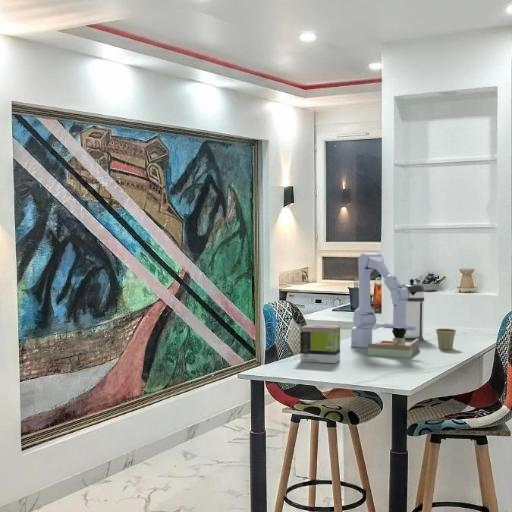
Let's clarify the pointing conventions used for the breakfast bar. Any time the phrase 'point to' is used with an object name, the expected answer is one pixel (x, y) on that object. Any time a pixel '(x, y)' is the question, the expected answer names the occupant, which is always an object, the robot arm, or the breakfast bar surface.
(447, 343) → the flower pot
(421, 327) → the coffee press
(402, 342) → the maple block
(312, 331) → the tea box
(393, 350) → the box
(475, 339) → the breakfast bar surface
